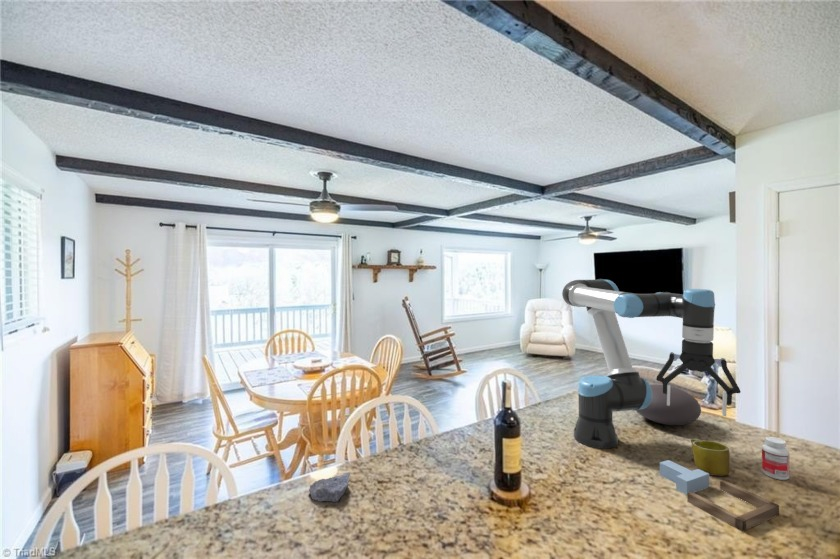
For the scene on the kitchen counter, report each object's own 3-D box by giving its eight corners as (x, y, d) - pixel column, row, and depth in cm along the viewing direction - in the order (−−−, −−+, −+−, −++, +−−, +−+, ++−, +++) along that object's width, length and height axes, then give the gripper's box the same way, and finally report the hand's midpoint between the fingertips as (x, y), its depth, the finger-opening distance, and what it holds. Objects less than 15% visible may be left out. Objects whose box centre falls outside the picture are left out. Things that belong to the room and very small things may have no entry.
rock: (349, 468, 113) (348, 482, 103) (351, 486, 112) (350, 502, 102) (310, 474, 111) (305, 489, 101) (311, 492, 110) (306, 509, 100)
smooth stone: (640, 406, 172) (640, 374, 172) (706, 421, 154) (706, 386, 154) (621, 421, 156) (621, 386, 156) (693, 440, 137) (693, 400, 137)
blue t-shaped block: (653, 477, 113) (653, 464, 113) (674, 470, 117) (674, 458, 117) (687, 495, 104) (686, 481, 104) (709, 487, 108) (709, 473, 108)
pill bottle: (769, 468, 117) (769, 434, 117) (794, 478, 112) (794, 442, 111) (757, 472, 115) (757, 437, 115) (781, 482, 110) (782, 445, 109)
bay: (687, 501, 101) (687, 492, 101) (723, 488, 107) (723, 479, 107) (742, 531, 89) (742, 521, 89) (779, 514, 95) (779, 505, 95)
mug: (746, 476, 110) (730, 441, 112) (709, 483, 112) (694, 449, 114) (724, 463, 121) (710, 432, 124) (691, 470, 123) (678, 439, 126)
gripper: (647, 337, 115) (646, 404, 116) (754, 348, 100) (751, 423, 101) (649, 333, 121) (648, 396, 122) (750, 343, 106) (747, 414, 107)
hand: (695, 409), depth 112 cm, fingers open, 13 cm apart
